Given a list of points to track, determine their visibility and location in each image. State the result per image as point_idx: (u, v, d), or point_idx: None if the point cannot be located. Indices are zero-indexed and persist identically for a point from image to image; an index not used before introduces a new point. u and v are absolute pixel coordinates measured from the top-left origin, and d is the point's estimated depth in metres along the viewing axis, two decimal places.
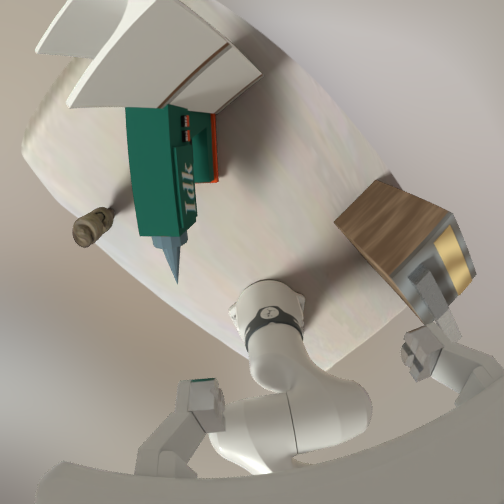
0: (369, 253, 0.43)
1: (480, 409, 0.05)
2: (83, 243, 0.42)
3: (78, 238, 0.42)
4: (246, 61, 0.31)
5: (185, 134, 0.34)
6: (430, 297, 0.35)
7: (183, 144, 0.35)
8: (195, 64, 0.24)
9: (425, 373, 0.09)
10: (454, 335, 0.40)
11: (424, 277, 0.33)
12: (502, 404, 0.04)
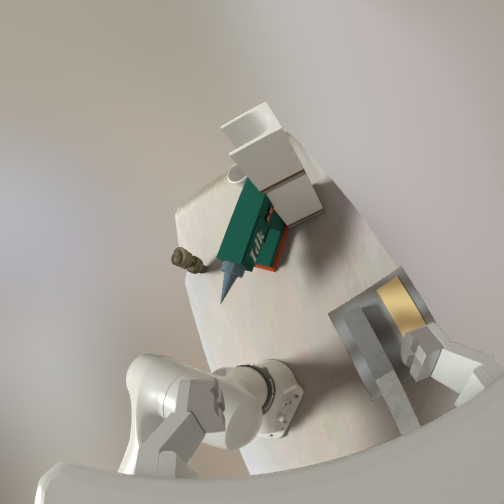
0: None
1: (480, 409, 0.05)
2: (174, 261, 0.78)
3: (174, 258, 0.79)
4: (313, 190, 0.67)
5: (267, 216, 0.66)
6: (362, 339, 0.36)
7: (264, 221, 0.66)
8: (285, 174, 0.60)
9: (425, 373, 0.09)
10: (409, 424, 0.27)
11: (352, 310, 0.38)
12: (502, 404, 0.04)
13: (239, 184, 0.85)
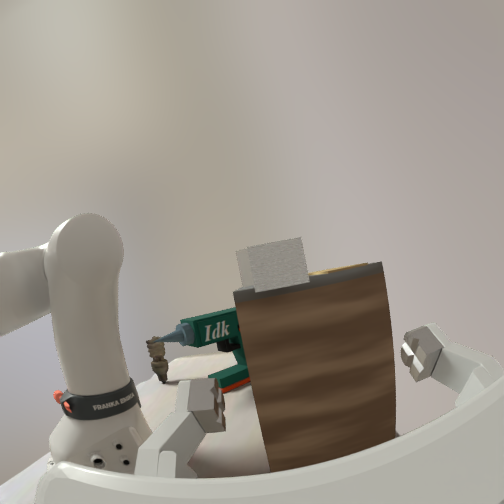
0: None
1: (480, 409, 0.05)
2: None
3: None
4: None
5: None
6: None
7: None
8: None
9: (425, 373, 0.09)
10: None
11: None
12: (502, 404, 0.04)
13: None
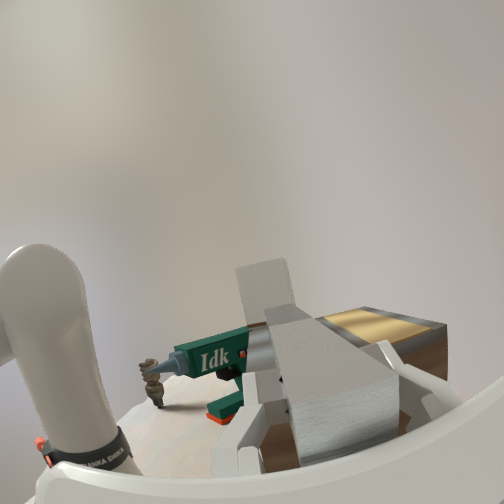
0: None
1: (480, 409, 0.05)
2: None
3: None
4: None
5: (242, 350, 0.61)
6: (276, 312, 0.24)
7: None
8: None
9: None
10: (324, 359, 0.09)
11: None
12: (502, 404, 0.04)
13: None
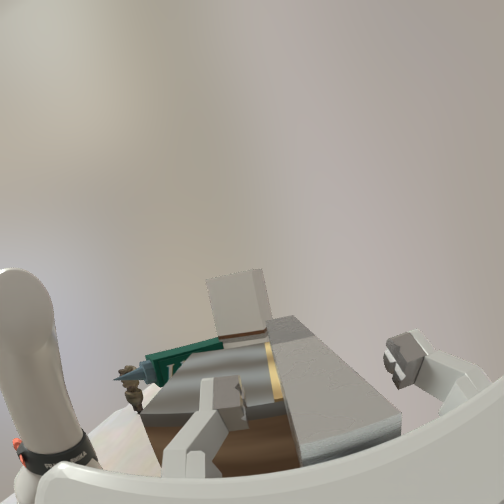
0: None
1: (480, 409, 0.05)
2: (121, 370, 0.65)
3: (123, 370, 0.67)
4: None
5: None
6: (278, 326, 0.24)
7: None
8: (245, 328, 0.62)
9: (407, 381, 0.09)
10: (330, 390, 0.09)
11: (282, 317, 0.29)
12: (502, 404, 0.04)
13: None
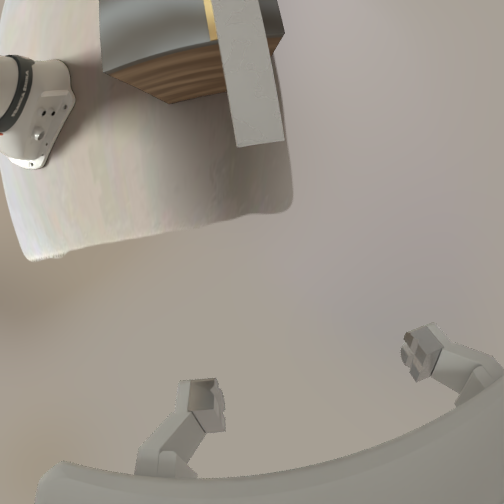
0: None
1: (480, 409, 0.05)
2: None
3: None
4: None
5: None
6: None
7: None
8: None
9: (425, 373, 0.09)
10: (255, 98, 0.15)
11: None
12: (502, 404, 0.04)
13: None
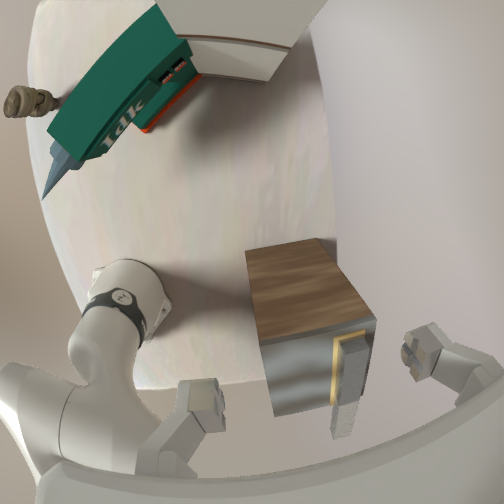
0: (255, 303, 0.37)
1: (480, 409, 0.05)
2: (7, 111, 0.24)
3: (7, 104, 0.24)
4: (275, 67, 0.29)
5: (167, 75, 0.26)
6: (350, 378, 0.29)
7: (156, 82, 0.26)
8: (249, 36, 0.19)
9: (425, 373, 0.09)
10: (344, 430, 0.36)
11: (360, 351, 0.28)
12: (502, 404, 0.04)
13: None
